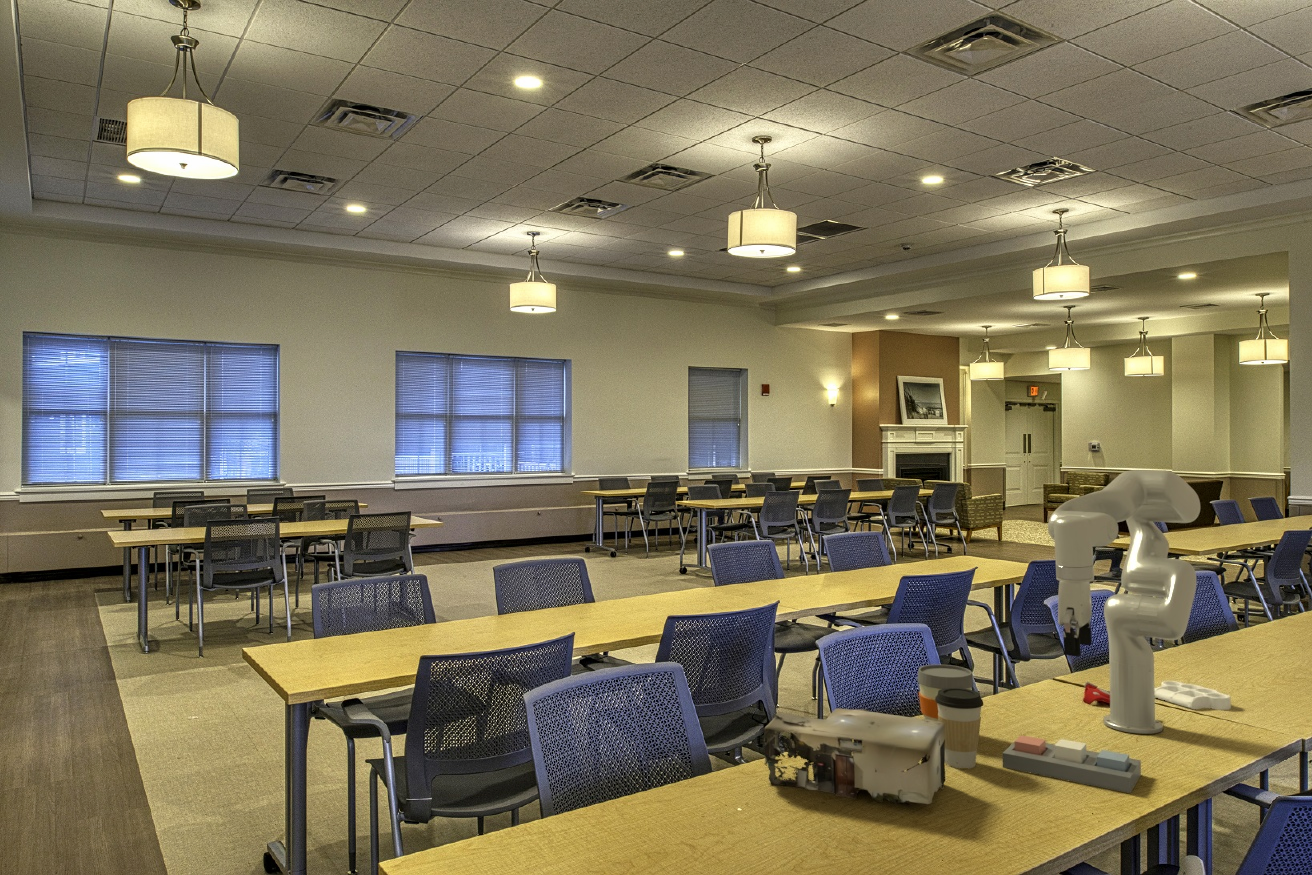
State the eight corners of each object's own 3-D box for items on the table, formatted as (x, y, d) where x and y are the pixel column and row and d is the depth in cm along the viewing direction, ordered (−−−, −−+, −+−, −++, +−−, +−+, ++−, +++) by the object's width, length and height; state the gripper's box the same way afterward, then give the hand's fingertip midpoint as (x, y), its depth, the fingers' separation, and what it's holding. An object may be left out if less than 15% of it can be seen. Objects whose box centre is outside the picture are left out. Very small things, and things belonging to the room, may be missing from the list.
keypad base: (1018, 751, 195) (1018, 737, 195) (1140, 774, 181) (1140, 760, 181) (1002, 767, 186) (1002, 752, 186) (1130, 793, 171) (1129, 777, 171)
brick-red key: (1021, 753, 192) (1021, 735, 192) (1045, 758, 189) (1045, 739, 189) (1014, 760, 188) (1014, 741, 188) (1039, 765, 185) (1039, 745, 185)
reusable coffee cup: (951, 723, 215) (950, 662, 215) (985, 739, 203) (984, 674, 203) (907, 729, 211) (906, 666, 211) (939, 746, 199) (938, 679, 200)
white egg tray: (1140, 696, 238) (1179, 690, 243) (1203, 715, 221) (1243, 708, 227) (1140, 684, 238) (1179, 678, 243) (1202, 701, 221) (1243, 695, 227)
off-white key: (1060, 757, 187) (1060, 738, 187) (1086, 762, 184) (1086, 743, 184) (1054, 764, 183) (1054, 745, 183) (1081, 769, 180) (1080, 750, 180)
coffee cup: (986, 759, 191) (985, 689, 191) (982, 774, 182) (981, 701, 182) (938, 752, 195) (937, 684, 195) (932, 767, 186) (931, 696, 186)
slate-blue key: (1102, 769, 182) (1102, 749, 182) (1129, 774, 179) (1129, 754, 179) (1097, 776, 178) (1096, 756, 178) (1124, 782, 175) (1124, 761, 175)
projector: (791, 757, 192) (790, 696, 192) (946, 784, 177) (945, 718, 177) (761, 789, 176) (760, 723, 176) (929, 822, 161) (928, 749, 160)
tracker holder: (1130, 700, 231) (1107, 696, 226) (1124, 716, 231) (1101, 712, 226) (1090, 679, 241) (1067, 675, 237) (1084, 694, 242) (1061, 690, 237)
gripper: (1066, 565, 203) (1070, 638, 203) (1045, 578, 190) (1049, 657, 190) (1102, 567, 198) (1105, 642, 199) (1083, 581, 185) (1087, 662, 185)
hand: (1078, 649), depth 194 cm, fingers open, 9 cm apart
